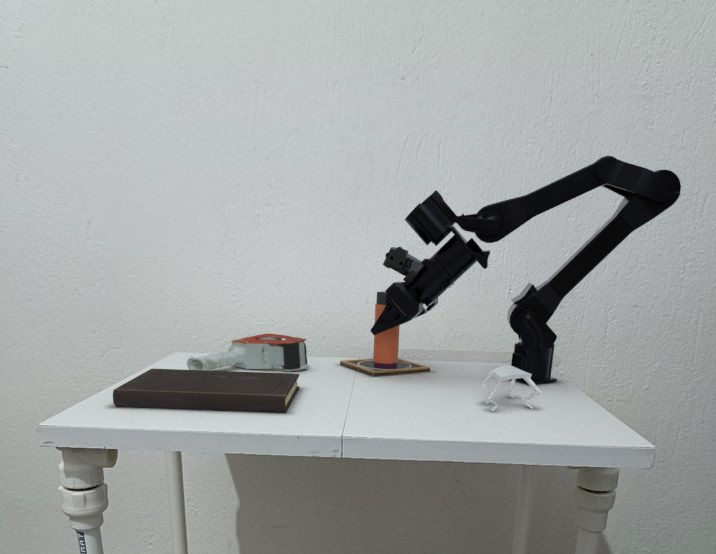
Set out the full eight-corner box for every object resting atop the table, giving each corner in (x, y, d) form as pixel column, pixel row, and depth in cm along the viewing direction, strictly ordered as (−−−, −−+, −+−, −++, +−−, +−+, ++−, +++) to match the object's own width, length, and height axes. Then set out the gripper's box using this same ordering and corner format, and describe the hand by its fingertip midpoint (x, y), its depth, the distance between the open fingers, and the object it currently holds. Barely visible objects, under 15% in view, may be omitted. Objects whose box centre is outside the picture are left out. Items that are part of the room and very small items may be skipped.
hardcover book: (152, 383, 103) (151, 368, 103) (299, 388, 103) (299, 373, 102) (113, 407, 88) (111, 390, 87) (285, 413, 88) (285, 396, 87)
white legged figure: (543, 414, 91) (548, 379, 90) (482, 411, 92) (486, 376, 90) (530, 395, 103) (534, 364, 101) (475, 393, 103) (478, 361, 102)
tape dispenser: (186, 383, 111) (305, 379, 110) (181, 352, 109) (303, 348, 108) (209, 360, 127) (313, 357, 126) (205, 332, 125) (311, 328, 124)
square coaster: (394, 360, 129) (394, 356, 129) (430, 371, 119) (430, 367, 119) (340, 364, 123) (340, 360, 123) (373, 376, 114) (373, 371, 113)
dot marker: (399, 365, 121) (402, 292, 116) (395, 369, 117) (399, 293, 112) (375, 364, 122) (378, 290, 117) (371, 368, 118) (373, 292, 113)
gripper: (424, 231, 119) (363, 291, 125) (401, 228, 102) (332, 298, 108) (465, 278, 119) (402, 336, 126) (448, 284, 103) (376, 350, 109)
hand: (379, 329), depth 117 cm, fingers open, 9 cm apart
